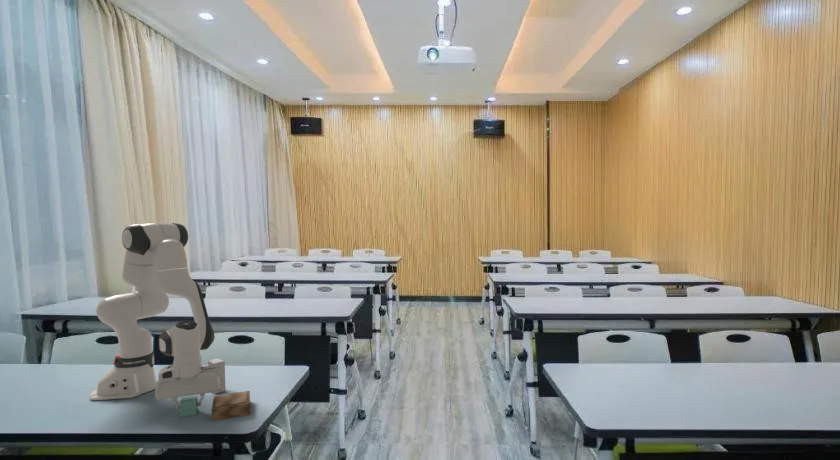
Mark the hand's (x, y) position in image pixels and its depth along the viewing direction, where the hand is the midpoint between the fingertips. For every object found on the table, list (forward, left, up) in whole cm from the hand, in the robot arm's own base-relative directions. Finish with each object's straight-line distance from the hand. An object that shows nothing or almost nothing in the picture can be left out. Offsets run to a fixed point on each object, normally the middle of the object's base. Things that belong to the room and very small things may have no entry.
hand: (188, 407), depth 159 cm
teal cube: (0, 0, -2) cm, 2 cm away
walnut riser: (+14, -4, -2) cm, 15 cm away
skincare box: (+8, +18, -2) cm, 20 cm away
